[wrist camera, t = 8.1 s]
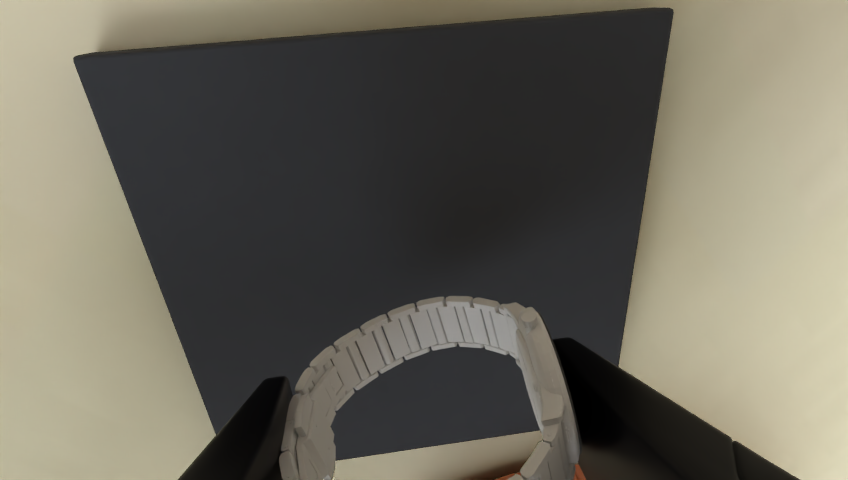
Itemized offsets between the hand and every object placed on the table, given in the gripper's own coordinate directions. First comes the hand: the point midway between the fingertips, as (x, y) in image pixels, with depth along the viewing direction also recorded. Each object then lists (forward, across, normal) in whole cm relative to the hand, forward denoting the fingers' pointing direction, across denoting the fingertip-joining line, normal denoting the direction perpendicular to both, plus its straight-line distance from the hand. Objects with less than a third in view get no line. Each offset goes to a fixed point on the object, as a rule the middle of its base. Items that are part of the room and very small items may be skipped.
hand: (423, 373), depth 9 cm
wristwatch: (+2, 0, 0) cm, 2 cm away
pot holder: (+4, 0, 0) cm, 4 cm away
